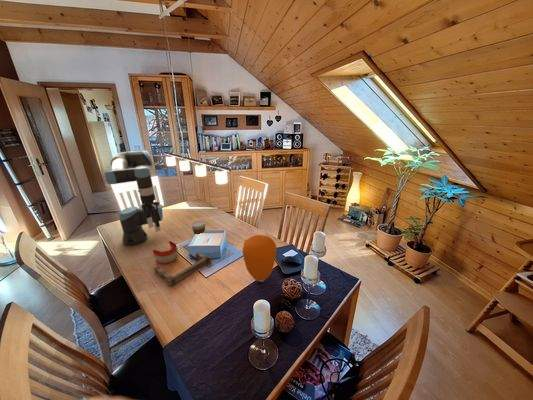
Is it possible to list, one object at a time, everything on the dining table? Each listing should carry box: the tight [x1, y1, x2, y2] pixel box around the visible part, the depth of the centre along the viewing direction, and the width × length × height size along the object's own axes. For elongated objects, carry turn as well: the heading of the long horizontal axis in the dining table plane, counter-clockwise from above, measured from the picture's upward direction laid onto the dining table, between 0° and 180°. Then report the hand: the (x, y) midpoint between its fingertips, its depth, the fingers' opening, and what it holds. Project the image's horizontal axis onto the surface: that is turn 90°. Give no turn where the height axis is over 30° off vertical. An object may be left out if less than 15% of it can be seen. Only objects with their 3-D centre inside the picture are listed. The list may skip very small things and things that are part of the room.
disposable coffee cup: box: [190, 220, 206, 235], centre depth 157 cm, size 10×10×12 cm
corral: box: [153, 253, 212, 288], centre depth 128 cm, size 17×26×4 cm, turn 143°
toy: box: [152, 240, 179, 265], centre depth 136 cm, size 12×10×8 cm
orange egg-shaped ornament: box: [242, 234, 278, 283], centre depth 115 cm, size 17×17×25 cm
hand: (154, 229), depth 137 cm, fingers open, 8 cm apart
